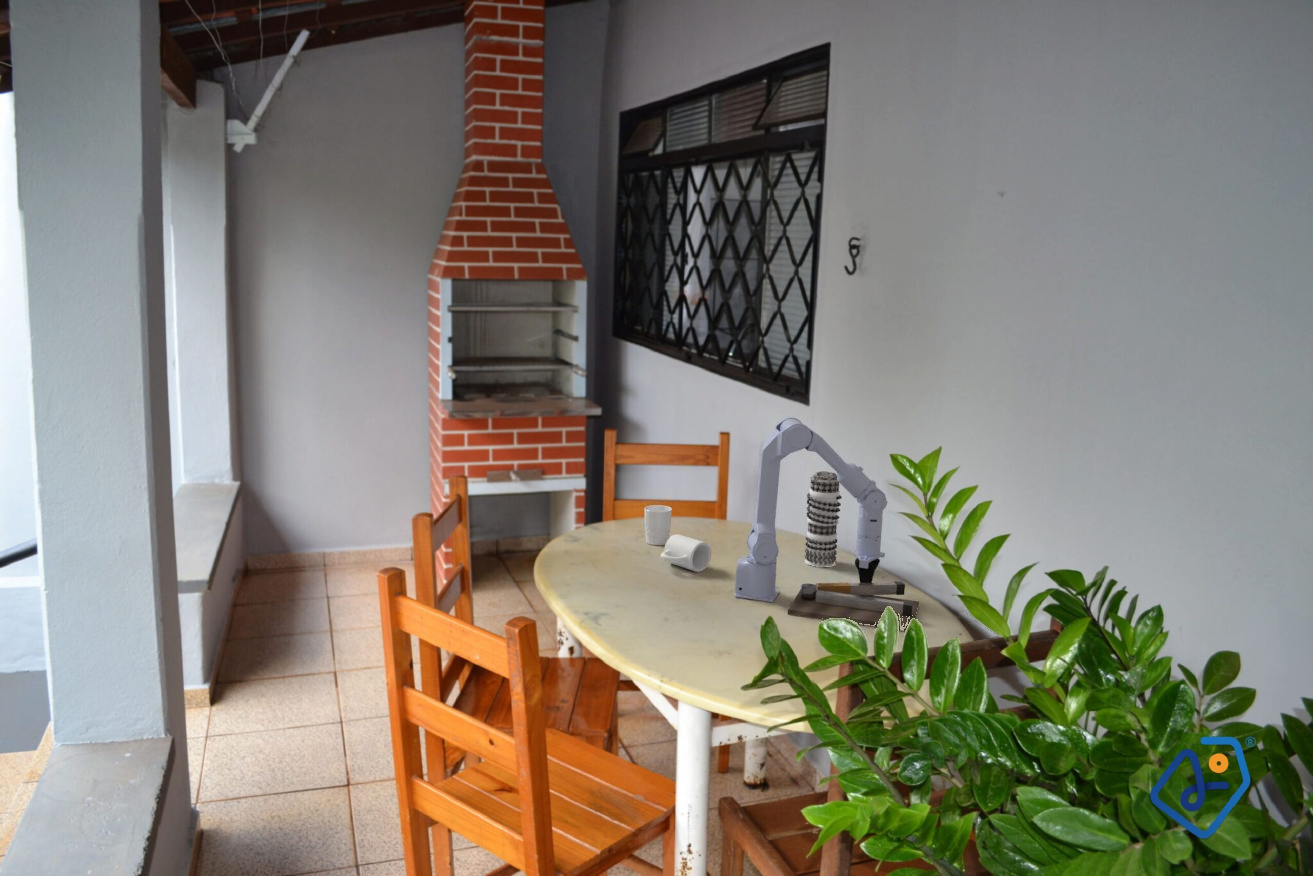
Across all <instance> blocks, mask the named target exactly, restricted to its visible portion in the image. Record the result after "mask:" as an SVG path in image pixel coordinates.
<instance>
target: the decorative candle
mask: <svg viewBox="0 0 1313 876" xmlns="http://www.w3.org/2000/svg"><path fill="white" fill-rule="evenodd" d="M812 475H813V476H811V477H810V478H809V479H810V488H809V492H808V493H807V494H806V497H807V499H806V504H807V506H806V511H807V512H806V517H807V518H806V521H807V523H808V524H807V525H808V527H807V532H806V536H805V541H806V542H805V544H804V545H805V549H804V553H805V554H804V561H805V562H804V564H805V563H806V564H805V565H807V564H809V565H812V566H818V567H826V566H832V565H833V564H834V562H836V561H837V553H838V552H837V550H836V549H837V547H838V545H837V543H838V539H837V535H838V533H837V529H838V528H837V525H838V524H839V519H840V516H839V515H838V513H839V512H841V509H840V508H839V507H840V506H841V502H840V501H838V500H840V499H842V495H840V483H839V482H838V481H837V473H835V472H832V471H826V470H825V471H823V470H822V471H817V472H815V473H814V474H812ZM809 565H808V566H809ZM812 566H811V567H812Z"/></svg>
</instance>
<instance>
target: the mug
mask: <svg viewBox="0 0 1313 876" xmlns="http://www.w3.org/2000/svg"><path fill="white" fill-rule="evenodd" d="M660 558H661V560H663V561H665V562H668V563H670V564H672V565H675V566H678V567H682V568H684V569H686V570H690V571H693V572H696V573H701V572H703V571H705V569H706V568H707V567H708V565H709V564H710V562H711V559H712V549H711V546H710V545H709V544H708V542H705V541H701V540H699V539H696V538H693V537H689V536H686V535H685V536H684V535H683V534H679V533H676V534H672V535H671V536H669V539H668V540H667V542H666V544H665V545H664V549H663V551H662V552H661V553H660Z"/></svg>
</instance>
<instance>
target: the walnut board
mask: <svg viewBox="0 0 1313 876" xmlns="http://www.w3.org/2000/svg"><path fill="white" fill-rule="evenodd" d="M858 596H864V597H872V598H879V599H886V600H894V601H901V602H909V603H913V608H912V615H913V616H910V619H908V624H909V622H910V620H911V619H912V618H915V619H916V618H917V614H916V612H917V613H918V611H917V608H918V609H919V607H918V605H919V604H920V601H918V600H910V599H902V598H895V597H888V596H883V595H858ZM882 613H883V612H879V611H872V610H865V609H858V608H851V607H844V606H837V605H830V604H823V603H816V599H813V600H806V599H803V598H801V589H800V590H799V592H798V593H797V595H796V596H795V598H794V599H793V601H792V602H791V604H790V606H789V607H788V608H787V615H790V616H798V617H805V618H812V619H817V620H825V621H827V620H826V619H829V618H846V619H850V620H853V621H855V622H857V623H858V624H859V623H862V624H863V625H862V626H864V624H870V625H874V624H875V622H876V625H875V627H874V628H878V627H877V624H878V621H879V619H880V618H881V615H882ZM915 615H916V616H915ZM897 616H898V621H899V632H901V631H900V620H899V615H898V614H897ZM902 616H903V617H902ZM849 617H850V618H849ZM908 617H909V616H907V617H906V615H900V618H901V626H902V625H903V623H904V626H903V627H905V624H906V622H907V618H908ZM822 618H823V619H822ZM902 618H903V621H902ZM859 626H861V625H860V624H859ZM907 626H908V625H907ZM907 626H906V628H907ZM906 628H905V629H904V631H903V632H905V630H906Z"/></svg>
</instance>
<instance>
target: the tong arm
mask: <svg viewBox="0 0 1313 876" xmlns="http://www.w3.org/2000/svg"><path fill="white" fill-rule="evenodd" d="M905 589H906V584H905V583H904V582H903V581H891V582H890V581H889V582H887V581H886V582H872V583H860V582H852V583H851V582H850V583H849V582H825V583H824V582H821V583H820V582H819V583H815V584H813V583H802V584H801V585H800V590H801V598H803V599H806V600H813V599H816V592H817V591H818V590H821V591H828V592H835V593H843V594H850V595H857V596H858V595H875V596H885V595H886V596H889V595H890V596H891V595H893V596H895V595H896V596H904V595H905Z"/></svg>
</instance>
